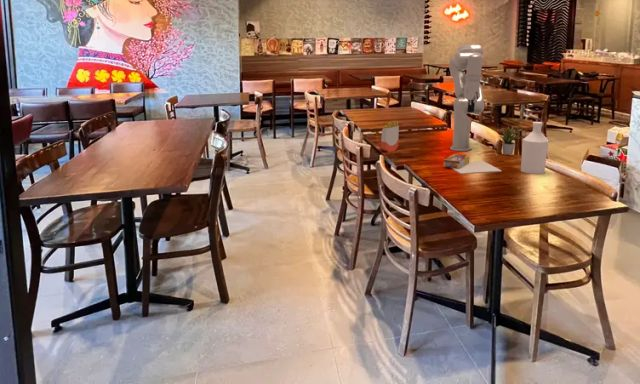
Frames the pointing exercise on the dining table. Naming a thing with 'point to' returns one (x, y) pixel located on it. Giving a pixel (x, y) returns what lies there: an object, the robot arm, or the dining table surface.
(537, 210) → the dining table surface
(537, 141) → the bottle
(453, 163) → the candy box
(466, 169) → the felt mat
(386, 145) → the french fries container
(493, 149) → the dining table surface
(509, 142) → the house plant
